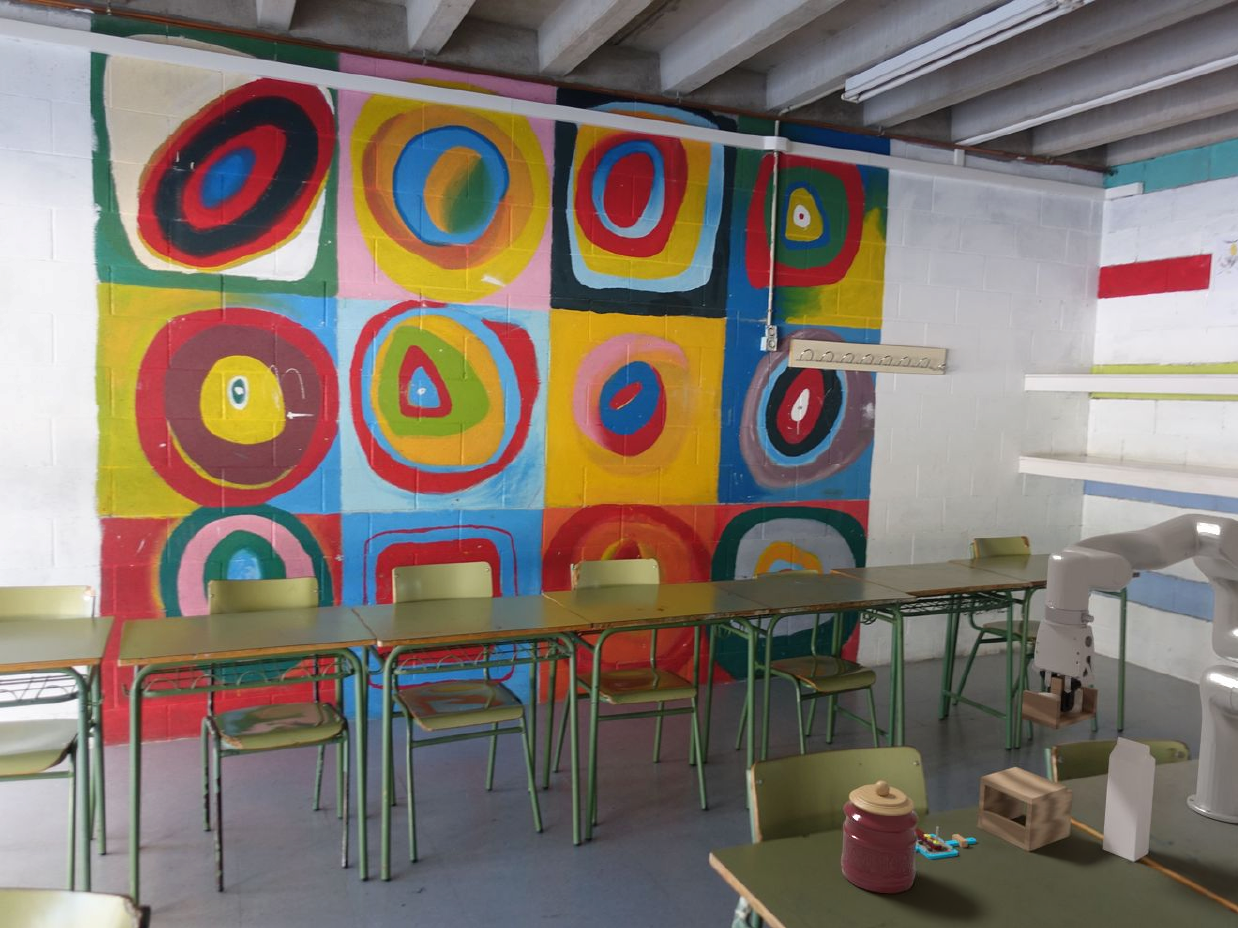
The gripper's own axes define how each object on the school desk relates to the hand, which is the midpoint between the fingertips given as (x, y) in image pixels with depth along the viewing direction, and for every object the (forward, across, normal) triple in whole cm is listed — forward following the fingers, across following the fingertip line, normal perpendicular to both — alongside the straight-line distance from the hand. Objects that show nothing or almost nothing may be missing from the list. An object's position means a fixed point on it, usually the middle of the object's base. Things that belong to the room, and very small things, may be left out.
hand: (1059, 707), depth 183 cm
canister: (+27, +8, +41) cm, 50 cm away
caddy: (+2, 0, 0) cm, 2 cm away
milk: (+27, -10, -9) cm, 30 cm away
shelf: (+27, +5, +1) cm, 28 cm away
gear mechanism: (+28, +11, +23) cm, 38 cm away
